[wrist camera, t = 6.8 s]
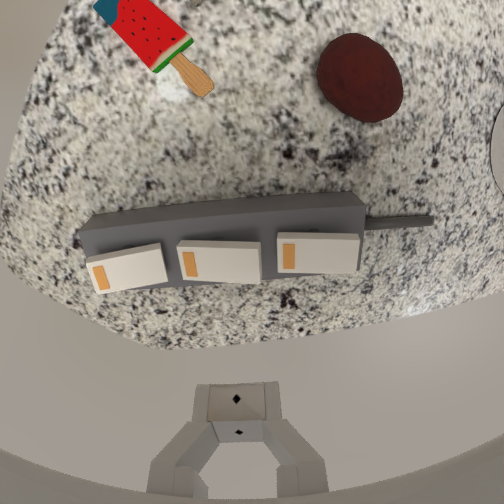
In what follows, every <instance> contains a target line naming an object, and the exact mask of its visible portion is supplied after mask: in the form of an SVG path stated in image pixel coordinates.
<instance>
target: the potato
mask: <svg viewBox="0 0 504 504" xmlns="http://www.w3.org/2000/svg"><path fill="white" fill-rule="evenodd" d="M317 78H318V85H319V87H320V89H321V90H322V92H323V94H324V96H325V97H326V99H327V100H328V101H329V102H331V103H332V104H333V105H334V106H335V107H336V108H337V109H338V110H339V111H341V112H342V113H344V114H346V115H349V116H351V117H353V118H355V119H357V120H359V121H362V122H371V123H376V122H379V121H381V120H384V119H387V118H389V117H391V116H392V115H393V114H394V113H395V112H396V111H397V110H398V109H399V107H400V105H401V103H402V99H403V85H402V79H401V76H400V73H399V70H398V68H397V66H396V64H395V62H394V60H393V58H392V57H391V56H390V54H389V53H388V51H387V50H385V49H384V48H383V47H382V46H381V45H380V44H378V43H377V42H375V41H373V40H372V39H370V38H369V37H367V36H364V35H361V34H358V33H347V34H344V35H342V36H340V37H338V38H336V39H334V40H333V41H331V42H330V43H329V45H328V46H327V47H326V49H325V50H324V51H323V53H322V54H321V57H320V61H319V65H318V68H317Z"/></svg>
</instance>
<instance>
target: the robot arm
mask: <svg viewBox="0 0 504 504" xmlns="http://www.w3.org/2000/svg"><path fill="white" fill-rule="evenodd" d="M491 164H492V170H493V175H494V178H495V181H496V183H497V185H498V187H499V188H500V190H501V191H502V193H503V194H504V106H503V107H502V108H501V110H500V112H499V114H498V116H497V119H496V122H495V125H494V129H493V133H492V140H491ZM264 387H265V388H264ZM263 441H264V443H265V444H266V446H267V447H268V448H269V450H270V451H271V452H272V454H273V455H274V456H275V458H276V459H277V460H278V461H279V463H280V464H281V465H280V466H279V467H278V468H277V498H267V499H208V487H207V485H206V484H205V483H204V481H203V480H202V479H201V477H200V476H199V475H198V474H199V472H200V471H201V469H202V468H203V467H204V465H205V464H206V463H207V461H208V460H209V458H210V457H211V456H212V454H213V453H214V451H215V450H216V448H217V447H218V446H219V443H224V442H225V443H228V442H263ZM0 504H504V434H502V435H500V436H498V437H497V438H494V439H492V440H490V441H488V442H486V443H484V444H482V445H480V446H478V447H476V448H473V449H471V450H469V451H467V452H464V453H462V454H460V455H457V456H455V457H453V458H450V459H448V460H445V461H442V462H440V463H437V464H434V465H432V466H429V467H426V468H423V469H420V470H417V471H414V472H411V473H408V474H405V475H401V476H398V477H395V478H391V479H387V480H383V481H379V482H375V483H372V484H367V485H363V486H358V487H353V488H349V489H343V490H337V491H332V492H329V488H328V481H327V475H326V468H325V462H324V459H323V458H322V457H321V456H320V455H319V454H318V453H317V452H316V451H315V450H314V449H313V448H312V447H311V445H310V444H309V443H308V442H307V441H306V440H305V439H304V438H303V437H302V436H301V435H300V434H299V433H298V432H297V430H296V429H295V428H294V427H293V426H292V425H291V424H290V423H289V422H288V420H287V419H282V413H281V402H280V392H279V383H278V381H274V382H257V383H241V384H198V385H197V386H196V390H195V398H194V407H193V415H192V421H190V422H187V423H186V424H185V425H184V427H183V428H182V429H181V430H180V431H179V432H178V433H177V434H176V435H175V436H174V438H173V439H172V440H171V441H170V442H169V443H168V444H167V445H166V446H165V447H164V449H163V450H162V451H161V452H160V453H159V454H158V455H157V456H156V457H155V458H154V459H153V460H152V461H151V465H150V471H149V478H148V485H147V491H146V493H145V492H139V491H134V490H128V489H122V488H118V487H113V486H109V485H104V484H100V483H96V482H92V481H88V480H85V479H81V478H77V477H74V476H71V475H67V474H64V473H61V472H58V471H55V470H52V469H49V468H46V467H43V466H41V465H38V464H35V463H33V462H30V461H28V460H25V459H23V458H20V457H18V456H16V455H13V454H11V453H9V452H7V451H4V450H2V449H0Z"/></svg>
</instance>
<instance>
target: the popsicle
mask: <svg viewBox="0 0 504 504" xmlns="http://www.w3.org/2000/svg"><path fill="white" fill-rule="evenodd" d="M93 8H94V9H95V10H96V11H97V12H98V14H99V15H100V16H101V17H102V18H103V19H104V20H105V21H106V22H107V23H108V24H109V25H110V26H111V27H112V28H113V29H114V30H115V32H116V33H117V34H118V35H119V36H120V37H121V38H122V39H123V40H124V41H125V42H126V43H127V44H128V46H129V47H130V48H131V49H132V50H133V51H134V52H135V53H136V54H137V55H138V57H139V58H140V59H141V60H142V61H143V62H144V63H145V64H146V65H147V67H148V68H149V69H150V70H151V71H152V72H155V73H158V72H159V71H160V70H162V69H163V68H164V67H165V66H166V65H167V64H168V63H169V62H170V63H171V64H172V65H173V66H174V67H175V68H176V69H177V70H178V71H179V73H180V75H181V77H182V79H183V81H184V82H185V83H186V84H187V85H188V87H189V88H190V89H191V90H192V91H193V92H194V93H195V94H196V95H198V96H201V97H204V96H205V95H206V94H208V93H209V92H210V91H211V90H212V89H214V85H213V82H212V80H211V79H210V78H209V77H208V76H207V75H206V74H205V73H204V72H203V71H202V70H201V69H200V68H199V67H197V66H195V65H194V64H192V63H190V62H189V61H188V60H187V59H186V58H185V57H184V56H183V55H182V54H181V52H182V51H184V50H185V49H186V48H187V47H188V46H190V45H191V44H192V43H193V42H194V41H193V39H192V38H191V37H190V35H188V34H187V33H186V32H185V31H184V30H183V29H182V28H181V27H180V26H178V25H177V24H176V23H175V22H174V21H173V20H172V19H171V18H169V17H168V16H167V15H166V14H165V13H164V12H162V11H161V10H160V9H159V8H158V7H157V6H155V5H154V4H153V3H152V2H150V1H149V0H98V1H97V2H96V3H95V4H94V5H93Z"/></svg>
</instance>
